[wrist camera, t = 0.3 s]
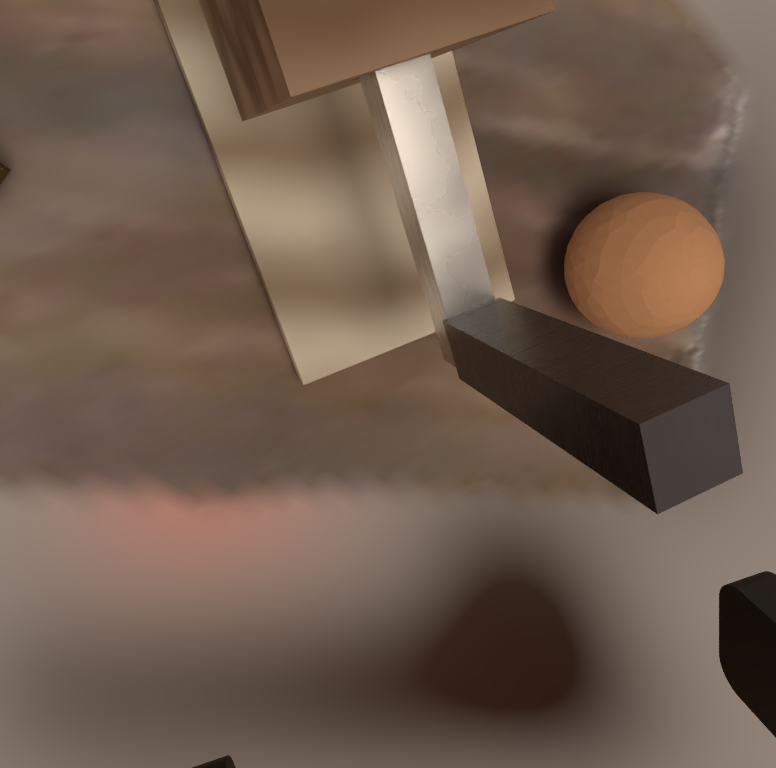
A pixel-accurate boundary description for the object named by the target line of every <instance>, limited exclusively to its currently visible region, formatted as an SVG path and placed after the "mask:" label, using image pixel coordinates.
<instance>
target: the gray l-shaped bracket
mask: <svg viewBox="0 0 776 768" xmlns="http://www.w3.org/2000/svg"><path fill="white" fill-rule="evenodd" d="M359 79H360V82H361V85H362V89H363V92H364V95H365V99H366V102H367V105H368V109H369V112H370V115H371V119H372V122H373V125H374V129H375V132H376V135H377V139H378V142H379V145H380V149H381V152H382V155H383V159H384V162H385V165H386V169H387V172H388V175H389V179H390V182H391V185H392V189H393V192H394V195H395V199H396V202H397V205H398V209H399V212H400V215H401V219H402V222H403V225H404V229H405V232H406V235H407V239H408V242H409V245H410V249H411V252H412V255H413V259H414V262H415V266H416V269H417V272H418V276H419V279H420V282H421V286H422V289H423V292H424V296H425V299H426V302H427V306H428V309H429V312H430V316H431V319H432V322H433V326H434V329H435V332H436V336H437V339H438V342H439V346H440V349H441V352H442V356H443V359H444V360H445V361H447V362H448V363H450V364H452V365H453V366H455V367H456V369H457V372H458V375H459V379H461V380H462V381H464V382H465V383H467V384H468V385H470V386H471V387H473V388H474V389H475V390H477V391H478V392H480V393H481V394H483V395H484V396H486V397H487V398H489V399H490V400H492V401H493V402H494V403H496V404H497V405H499V406H500V407H502V408H503V409H505V410H506V411H508V412H509V413H510V414H512V415H513V416H515V417H516V418H518V419H519V420H521V421H522V422H524V423H525V424H527V425H528V426H529V427H531V428H532V429H534V430H535V431H537V432H538V433H540V434H541V435H543V436H544V437H546V438H547V439H548V440H550V441H551V442H553V443H554V444H556V445H557V446H559V447H560V448H562V449H563V450H564V451H566V452H567V453H569V454H570V455H572V456H573V457H575V458H576V459H578V460H579V461H581V462H582V463H583V464H585V465H586V466H588V467H589V468H591V469H592V470H594V471H595V472H597V473H598V474H600V475H601V476H602V477H604V478H605V479H607V480H608V481H610V482H611V483H613V484H614V485H616V486H617V487H618V488H620V489H621V490H623V491H624V492H626V493H627V494H629V495H630V496H632V497H633V498H635V499H636V500H637V501H639V502H640V503H642V504H643V505H645V506H646V507H648V508H649V509H651V510H652V511H653V512H655V513H656V514H659V513H661V512H663V511H665V510H667V509H670V508H672V507H673V506H675V505H678V504H680V503H682V502H684V501H686V500H688V499H690V498H692V497H694V496H696V495H698V494H700V493H702V492H705V491H707V490H709V489H711V488H713V487H715V486H717V485H719V484H721V483H723V482H725V481H727V480H729V479H732V478H734V477H736V476H738V475H740V474H742V473H743V471H742V465H741V458H740V451H739V445H738V438H737V432H736V425H735V418H734V411H733V404H732V398H731V391H730V385H729V383H727V382H724V381H722V380H719V379H716V378H714V377H711V376H708V375H706V374H703V373H700V372H698V371H695V370H692V369H690V368H687V367H684V366H682V365H679V364H676V363H674V362H671V361H668V360H665V359H663V358H660V357H657V356H655V355H652V354H649V353H647V352H644V351H641V350H639V349H636V348H633V347H631V346H628V345H625V344H623V343H620V342H617V341H615V340H612V339H609V338H607V337H604V336H601V335H599V334H596V333H593V332H591V331H588V330H585V329H583V328H580V327H577V326H575V325H572V324H569V323H566V322H564V321H561V320H558V319H556V318H553V317H550V316H548V315H545V314H542V313H540V312H537V311H534V310H532V309H529V308H526V307H524V306H521V305H518V304H516V303H513V302H510V301H508V300H505V299H502V298H497V299H495V297H494V294H493V290H492V286H491V282H490V279H489V275H488V271H487V267H486V263H485V260H484V256H483V252H482V248H481V244H480V241H479V237H478V233H477V229H476V226H475V222H474V218H473V214H472V210H471V207H470V203H469V199H468V195H467V191H466V188H465V184H464V180H463V176H462V173H461V169H460V165H459V161H458V157H457V154H456V150H455V146H454V142H453V138H452V135H451V131H450V127H449V123H448V119H447V116H446V112H445V108H444V104H443V101H442V97H441V93H440V89H439V85H438V82H437V78H436V74H435V70H434V66H433V63H432V59H431V55H430V54H427V55H423V56H420V57H417V58H414V59H411V60H408V61H405V62H402V63H399V64H396V65H393V66H390V67H387V68H384V69H381V70H378V71H375V72H372V73H369V74H366V75H364V76H361V77H359Z"/></svg>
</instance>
